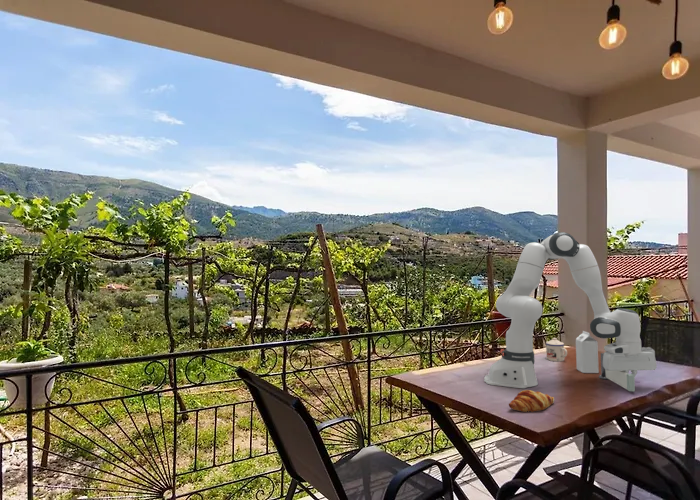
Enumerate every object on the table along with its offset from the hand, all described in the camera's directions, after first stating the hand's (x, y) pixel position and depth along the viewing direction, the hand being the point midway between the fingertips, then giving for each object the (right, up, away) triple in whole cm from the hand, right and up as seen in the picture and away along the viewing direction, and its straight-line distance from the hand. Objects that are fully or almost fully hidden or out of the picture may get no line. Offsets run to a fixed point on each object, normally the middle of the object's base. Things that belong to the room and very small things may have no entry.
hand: (630, 380), depth 176 cm
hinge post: (-1, -4, +15) cm, 15 cm away
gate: (-3, -2, +3) cm, 5 cm away
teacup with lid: (-6, -5, +50) cm, 50 cm away
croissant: (-50, -4, -20) cm, 54 cm away
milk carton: (-3, -4, +27) cm, 27 cm away
